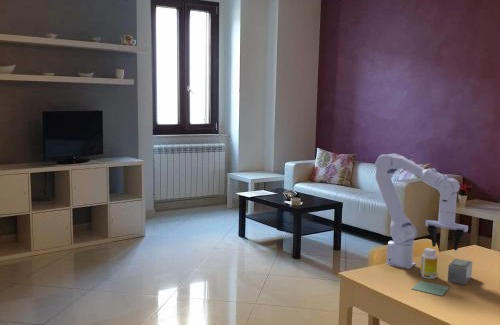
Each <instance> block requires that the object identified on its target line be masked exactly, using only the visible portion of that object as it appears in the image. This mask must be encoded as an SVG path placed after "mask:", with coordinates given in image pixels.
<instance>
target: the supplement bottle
mask: <svg viewBox="0 0 500 325" xmlns="http://www.w3.org/2000/svg"><path fill="white" fill-rule="evenodd" d="M437 270H438V255H437V254H436V249H434V248H432V247H425V248H424V249H423V253H422V254H421V258H420V269H419V271H420V272H419V275H420V277H421V278H424V279H427V280H432V279H436V278H437Z"/></svg>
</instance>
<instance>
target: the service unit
mask: <svg viewBox="0 0 500 325" xmlns="http://www.w3.org/2000/svg"><path fill="white" fill-rule="evenodd" d="M472 272H473V261H471V260H466V259H460V258H454V259H453V260H452V261H451V262H450V263H449V264H448V273H447V282H449V283H452V282H453V283H452V284H458V285H463V286H466V285H467V284H468V283H469V282H470V280H471V279H472Z"/></svg>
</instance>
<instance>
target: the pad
mask: <svg viewBox="0 0 500 325" xmlns="http://www.w3.org/2000/svg"><path fill="white" fill-rule="evenodd" d="M449 289H450V286H447V285H443V284H436V283H432V282H427V281H423V280H420V281H418V282H417V283H416V284H415V285H414V286H413V287H412V288H411V290H414V291H418V292H422V293H426V294H431V295H436V296H441V297H443V296H444V295H445V294H446V293H447V291H448V290H449Z"/></svg>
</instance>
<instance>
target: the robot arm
mask: <svg viewBox="0 0 500 325" xmlns="http://www.w3.org/2000/svg"><path fill="white" fill-rule="evenodd" d="M374 165H375V167H376V168H375V171H376V172H375V173H376V174H375V179H376V182H377V185H378V187H379V190H380V193H381V196H382V198H383V200H384V204H385V207H386V208H387V211H388V213H389V217H390V219H391V223H390V226H389V227H390V231H391V235H390V236H391V239H392V240H389V241H388V243H387V246H386V262H385V265H389V266H393V267H399V268H403V269H409V270H410V269H412V267H414V266H415V265H416V262H413V258H414V255H413V254H414V239H416V237H417V235H418V230H417V228H416V226H415V225H414V224H413V223H412V221H411V219H410V218H408V217H407V215H406V213H405V212H404V209H403V206H402V204H401V201H400V199H399V196H398V194H397V191H396V189H395V186H394V183H393V181H392V178H393V175H394V174H395V173H396V171H398V170H399V169H403V170H405V171H407V172H410V173H411V174H413V175H415V176H418V177H419V178H420V179H421V181H422V183H424V184H426V185H428V186H429V187H432V188H433V189H435V190H438V193H439V203H438V204H439V207H438V220H429V219H426V220H425V221H424V222H425V224H424V226H425V227H427V229H426V230H427V231H428V234H429V235H430V238H431V239H430V240H431V244H432V245H431V246H432V247H436V246H437V233H438V228H441V229H446V230H454V231H455V232H454V247H453V249H454V251H457V250H458V248H459V246H460V245H459V244H460V242H461V239H462V238H463V236H464V234H465V233H468V231H469V225H465V224H461V223H460V224H459V223H456V213H457V212H456V211H457V195H458V192H459V191H460V189H461V184H460V182H459V181H458V179H456V178H455V177H448V175H447V174H442V173H440V172H439V171H437V169H436V168H433V167H432V168H430V167H429V168H423V167H422V166H420V165H418V164H417V163H415V162H414V161H411V160H410V159H408V158H406V157H405V156H403V155H400V154H398V153H396V152H395V153H394V152H393V153H389V154H380V155H379V156H377V158H376V160H375V162H374Z"/></svg>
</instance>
